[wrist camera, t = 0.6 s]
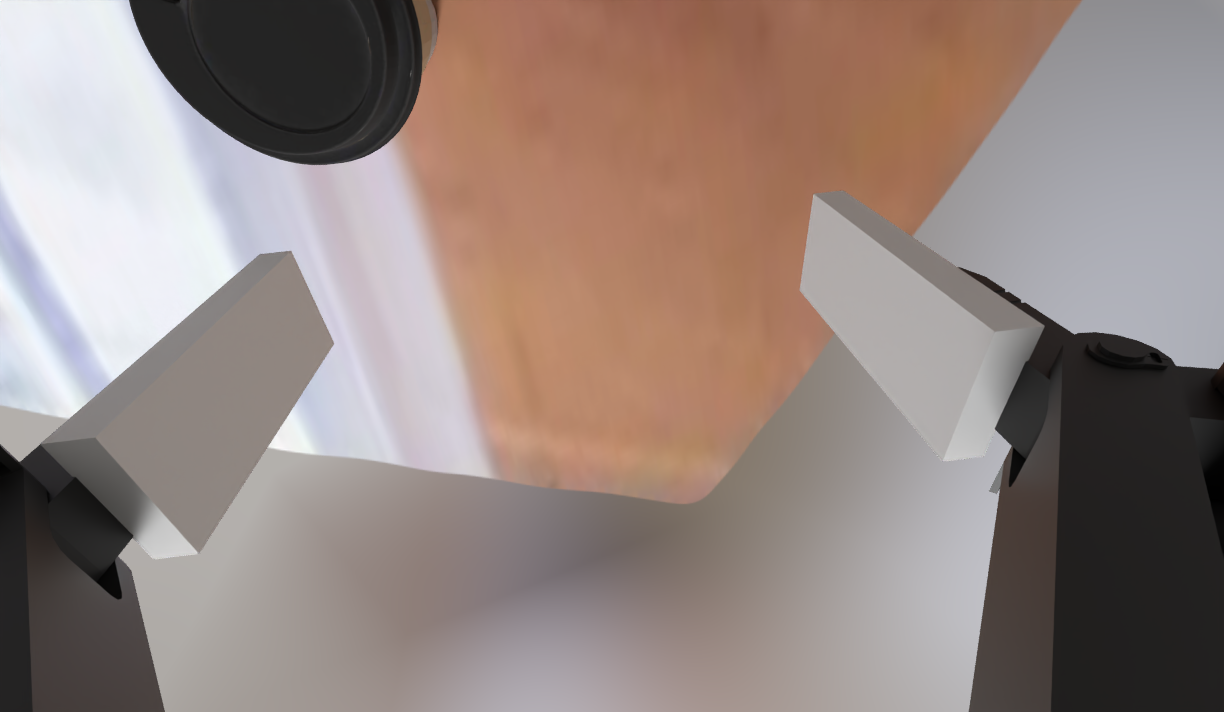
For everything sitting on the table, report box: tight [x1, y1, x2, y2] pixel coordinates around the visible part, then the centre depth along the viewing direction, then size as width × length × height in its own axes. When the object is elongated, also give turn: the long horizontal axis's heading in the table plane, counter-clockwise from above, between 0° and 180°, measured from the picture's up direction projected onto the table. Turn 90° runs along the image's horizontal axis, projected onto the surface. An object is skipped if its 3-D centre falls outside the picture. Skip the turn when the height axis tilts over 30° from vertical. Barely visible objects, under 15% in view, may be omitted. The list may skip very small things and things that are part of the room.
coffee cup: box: [129, 0, 438, 165], centre depth 24 cm, size 9×9×15 cm
